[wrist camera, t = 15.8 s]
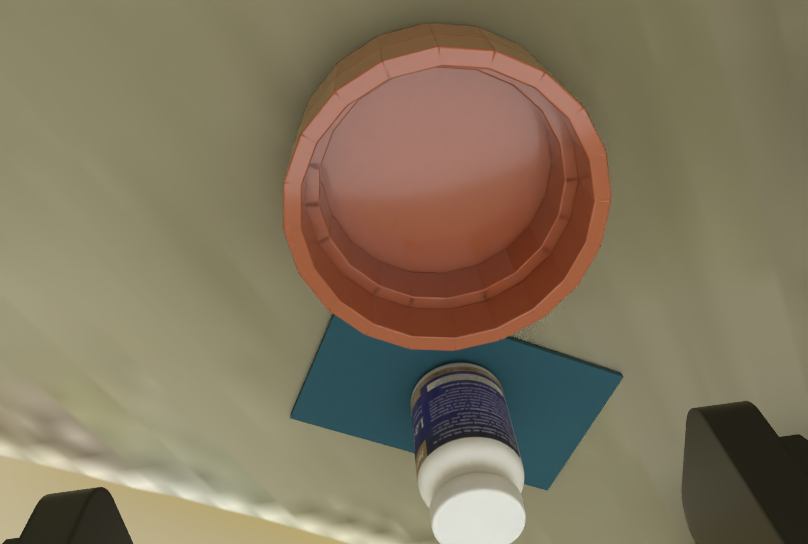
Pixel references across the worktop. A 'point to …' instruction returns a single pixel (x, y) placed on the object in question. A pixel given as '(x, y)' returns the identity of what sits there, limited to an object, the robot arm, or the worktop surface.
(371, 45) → the pot
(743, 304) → the worktop surface
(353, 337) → the towel
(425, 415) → the pill bottle
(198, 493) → the worktop surface
